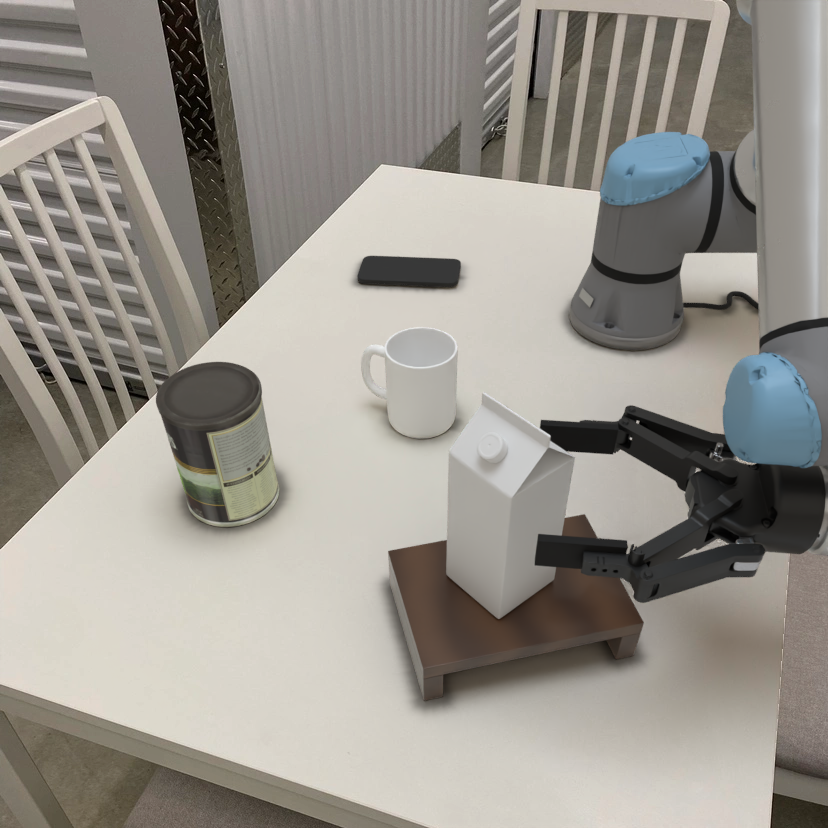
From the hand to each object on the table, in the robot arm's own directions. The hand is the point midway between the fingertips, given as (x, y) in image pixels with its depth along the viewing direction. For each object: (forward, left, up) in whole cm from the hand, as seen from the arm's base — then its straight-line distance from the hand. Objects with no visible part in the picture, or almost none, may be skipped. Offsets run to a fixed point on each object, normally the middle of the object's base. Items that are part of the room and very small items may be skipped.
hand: (537, 488), depth 66 cm
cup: (+3, -33, -17) cm, 38 cm away
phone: (-5, -66, -17) cm, 69 cm away
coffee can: (+25, -24, -17) cm, 39 cm away
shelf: (+1, 0, -17) cm, 17 cm away
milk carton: (+2, -1, -12) cm, 13 cm away
